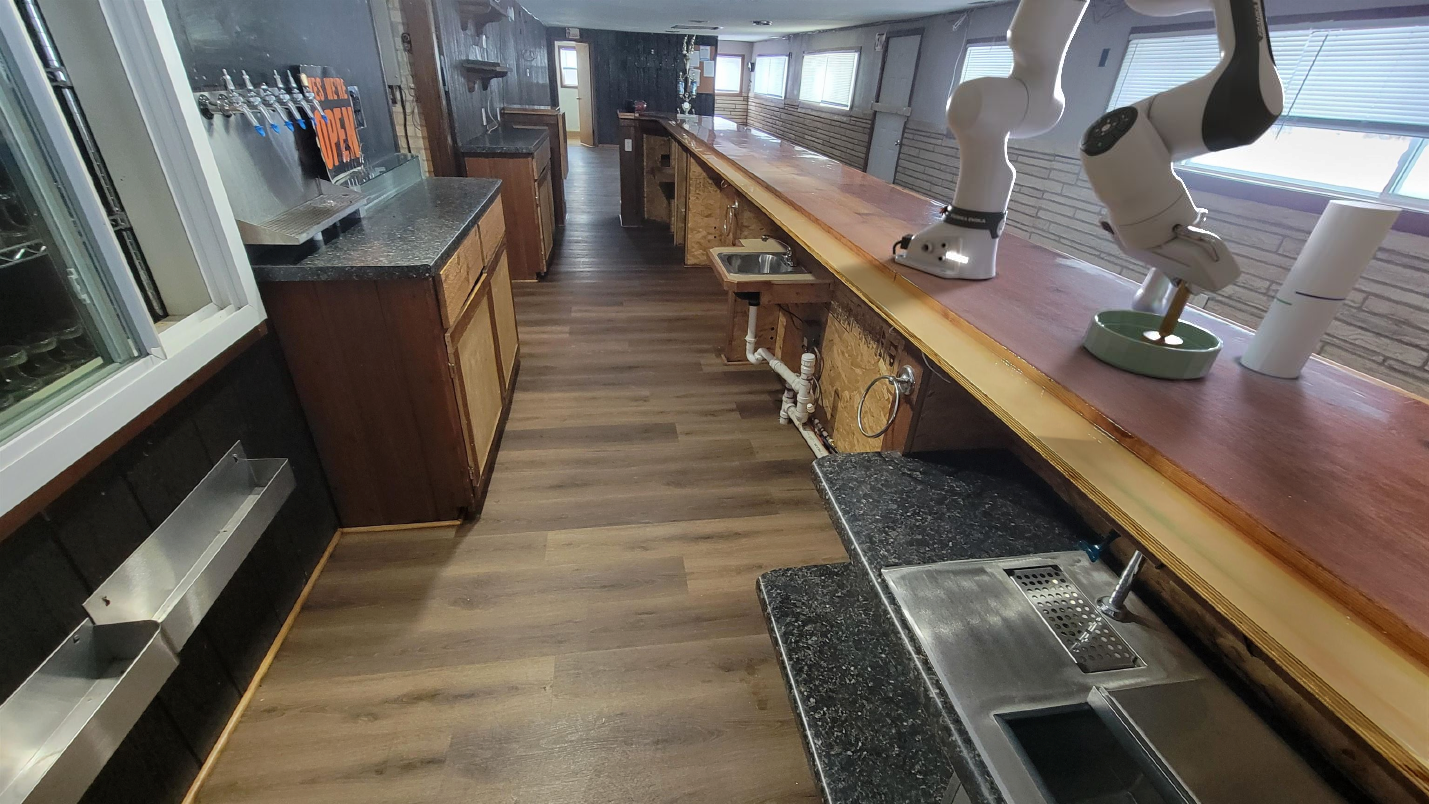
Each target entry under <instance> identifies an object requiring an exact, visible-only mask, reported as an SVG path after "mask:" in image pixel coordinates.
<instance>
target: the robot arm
mask: <svg viewBox="0 0 1429 804" xmlns="http://www.w3.org/2000/svg"><path fill="white" fill-rule="evenodd" d="M1123 1H1124V3H1125V4H1126V5H1127V6H1128V7H1129V8H1130V9H1131V10H1133V11H1134V12H1136V13H1138V14H1141V15H1144V16H1149V17H1175V16H1180V15H1184V14H1189V13H1197V12H1212V13H1213V19H1214V20H1213V21H1214V26H1215V32H1216V39H1217V46H1218V53H1219V62H1218V63H1217V64H1216V65H1215V67H1214V68H1213V69H1211V70H1210V71H1209V72H1208V73H1206V74H1205V75H1202V76H1200V77H1197V78H1195V79H1193V80H1190V81H1187V82H1185V83H1182V84H1180V85H1177V86H1175V87H1173V88H1170V89H1168V90H1164V91H1160V92H1158V93H1155V94H1153V95H1150V96H1148V97H1145V98H1143V99H1140V100H1138V101H1136V102H1133V103H1131V104H1129V105H1126V106H1125V105H1124V106H1121V107H1118V108H1117V107H1116V108H1115V109H1112V110H1110V111H1108V112H1107V113H1104V115H1101V116H1100V117H1099V118H1098V119H1095V121H1094V122H1093V123H1092V124H1090V125H1089V127H1088V128H1087V129H1086V130H1085V131H1084V133H1083V134H1082V136H1081V138H1080V140H1079V142H1078V156H1079V159H1080V163H1081V166H1082V169H1083V172H1084V175H1085V177H1086V179H1087V182H1088V184H1089V186H1090V188H1091V189H1092V192H1093V193H1094V196H1095V197H1096V198H1097V200H1098V201H1099V202H1101V203H1102V204H1103V205H1104V207H1106V210H1107V212H1106V213H1104V214H1103V215H1102V216H1101V217H1100V218H1098V219H1097V222H1098V224H1099V226H1100V228H1101V229H1102V230H1104V231H1105V232H1107V233H1108V235H1109V237H1111V240H1112V241H1113V242H1114V244H1115V245H1116V247H1117V248H1118V249H1119V250H1120V251H1121V253H1122V254H1124V255H1125V256H1127V257H1128V258H1130V259H1133V260H1135V261H1138V262H1141V263H1143V264H1145V265H1147V266H1150V267H1154V268H1157V269H1159V270H1160V271H1161V272H1162V273H1163V274H1164V275H1165V276H1166V277H1167V278H1168V279H1169V280H1170V282H1171V284H1172V286H1174V287H1176V288H1178V287H1179V285H1180V283H1181V280H1182V279H1183V280H1184V281H1187V284H1186V285H1184V287H1185V289H1186V290H1187V292H1188V293H1190V294H1191V295H1192V296H1195V297H1199V296H1200V295H1201V294H1203V293H1204V292H1206V291H1208V292H1211V293H1219V292H1220V291H1222V290H1224V289H1225V288H1227V287H1229V286H1230V285H1232V284H1234V283H1235V282H1236V281H1238V280H1239V279H1240V278H1241V276H1242V269H1241V268H1240V266H1239V264H1238V262H1237V261H1236V259H1235V257H1234V255H1233V254H1232V252H1231V251H1230V249H1229V248H1228V246H1227V244H1226V243H1225V242H1224V241H1223V239H1221V238H1220V237H1219V236H1218V235H1216V234H1214V233H1211V232H1209V231H1205V230H1203V229H1202V230H1203V231H1202V230H1199V229H1196V228H1192V227H1190V225H1191V224H1192V223H1193V222H1194V220H1195V218H1196V216H1197V211H1196V208H1197V207H1196V206H1195V204H1194V202H1193V200H1192V198H1191V196H1190V194H1189V191H1188V190H1187V188H1186V185H1185V184H1184V182H1183V180H1182V178H1180V177H1178V176H1177V175H1176V173H1175V172H1174V169H1173V164H1177V163H1180V162H1183V161H1187V160H1190V159H1193V158H1197V157H1201V156H1205V155H1208V154H1211V153H1219V152H1223V151H1228V150H1232V149H1238V148H1241V147H1246V146H1247V147H1248V146H1250V145H1253V144H1255V142H1257V141H1258V140H1259V139H1260V138H1261V137H1262V136H1264V135H1265V134H1266V132H1268V131H1269V130H1270V128H1272V127H1273V125H1274V124H1275V123H1276V122H1277V121H1278V119H1279V118H1280V117H1281V116H1282V114H1283V112H1284V105H1285V93H1284V87H1283V83H1282V79H1281V78H1280V73H1279V71H1278V67H1277V65H1276V61H1275V57H1274V52H1273V48H1272V42H1271V36H1270V30H1269V25H1268V19H1267V13H1266V6H1265V0H1123ZM1018 3H1019V4H1018V6H1017V8H1016V10H1015V13H1014V15H1013V17H1012V20H1011V22H1010V25H1009V26H1008V29H1007V32H1006V42H1007V45H1008V47H1009V49H1010V50H1011V52H1012V64H1011V68H1010V72H1009V74H1008V76H1007V77H1006V76H981V77H977V78H972V79H969V80H964V81H963V82H961V83H959V84H958V85H957V86H956V87H955V88H954V89H953V91H952V92H951V94H950V96H949V98H948V100H947V103H946V108H945V121H946V124H947V127H948V128H949V130H950V131H951V133H952V134H953V135H954V137H955V140H956V143H957V147H958V151H959V169H958V170H959V171H958V177H957V181H956V186H955V192H954V196H953V200H952V202H951V203H950V204H948V205H946V206H943V207H941V208H939V210H940V211H938V212H939V213H938V214H940V215H941V218H940V220H938V221H936V222H934V223H932V224H931V225H929V226H927V227H925V228H924V229H922V230H919V231H918V232H917V233H915V234H911V233H907V234H905V235H903V236H902V237H901V239H900V240H897V241H896V242H895V243H894V244H893V246H892V255H893V256H895V258H894V262H895V263H898V264H901V265H904V266H907V267H910V268H913V269H915V270H919V271H922V272H925V273H927V274H928V273H929V274H931V275H934V276H937V277H939V278H940V277H941V278H944V279H966V280H986V279H987V280H988V279H991V278H994V277H996V258H997V252H998V251H997V250H998V244H999V239H1000V237H1001V236H1002V234H1003V231H1004V228H1005V225H1006V220H1007V215H1008V210H1007V208H1008V205H1009V201H1010V198H1011V193H1012V190H1013V188H1014V183H1015V179H1016V175H1017V174H1016V173H1017V172H1016V169H1015V167H1014V165H1013V164H1012V163H1010V162H1009V159H1008V155H1007V154H1008V153H1007V144H1008V143H1007V142H1008V139H1009V140H1011V139H1014V140H1015V139H1017V140H1019V139H1020V140H1023V139H1024V140H1025V139H1028V138H1032V137H1037V136H1040V135H1043V134H1046V133H1048V132H1049V131H1051V130H1052V129H1053V128H1054V127H1055V126H1056V125H1057V124H1058V122H1059V120H1060V119H1061V118H1062V115H1063V112H1064V108H1065V96H1064V93H1063V90H1062V87H1061V75H1062V68H1063V65H1064V60H1065V56H1066V52H1067V51H1068V47H1069V45H1070V43H1071V40H1072V38H1073V36H1074V34H1075V33H1076V31H1077V27H1078V26H1079V24H1080V22H1081V19H1082V17H1083V15H1084V13H1085V11H1086V9H1087V7H1088V5H1089V3H1090V0H1020V1H1019V2H1018ZM898 245H899V249H900V250H904V251H902V252H900V253H898V254H897V247H898Z"/></svg>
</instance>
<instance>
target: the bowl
mask: <svg viewBox="0 0 1429 804" xmlns="http://www.w3.org/2000/svg"><path fill="white" fill-rule="evenodd" d="M1164 317H1165V316H1163V315H1159V314H1153V313H1148V312H1142V311H1134V310H1132V309H1122V308H1121V309H1119V308H1118V309H1102V310H1098V311H1096V312H1095V313H1093V314H1092V315H1091V317H1090V320H1089V322H1088V325H1087V327H1086V330H1085V333H1084V335H1083V337H1082V344H1083V346H1084V347H1085V348H1086V349H1087V350H1088V351H1089V352H1090V353H1091V354H1092V355H1093V356H1095V357H1096V358H1098V359H1099V360H1101V361H1103V362H1104V363H1107V364H1109V365H1111V366H1114V367H1117V368H1119V369H1122V370H1125V371H1128V372H1132V373H1135V374H1138V375H1142V376H1147V377H1153V378H1158V379H1159V378H1160V379H1166V380H1190V379H1198V378H1202V377H1205V376H1208V374H1209V373H1210V372H1211V370H1212V368H1213V365H1214V363H1215V361H1216V359H1217V358H1218V356H1219V354H1220V352H1221V350H1222V349H1223V347H1224V342H1223V340H1222V339H1221V338H1220V337H1219V336H1218V335H1216V334H1214V333H1213V332H1211V331H1210V330H1208V329H1205V328H1204V327H1202V326H1198V325H1196V324H1193V323H1190V322H1188V321H1185V320H1181V319H1179V320H1178V322H1177V324H1176V326H1175V329H1174V331H1173V333H1172V335H1173V336H1176V337H1178V338H1180V339H1181V340H1182V341H1183V343H1182V345H1181V347H1180V349H1174V348H1169V347H1163V346H1158V345H1153V344H1149V343H1145V342H1142V341H1140V339H1141V336H1142V334H1143V332H1145V331H1157V332H1158V330H1159V328H1160V326H1161V324H1162V321H1163V319H1164Z"/></svg>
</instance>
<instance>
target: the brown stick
mask: <svg viewBox="0 0 1429 804" xmlns="http://www.w3.org/2000/svg"><path fill="white" fill-rule="evenodd" d="M1186 284H1187V281H1184V280H1183V279H1182V280H1181V283H1180V285H1179V287H1178V289H1177V291H1176V293H1175V296H1174V298H1173V300H1172V302H1171V304H1170V306H1169V308H1168V311H1167V313H1166V315H1165V317H1164V319H1163V321H1162V324H1161V326H1160V328H1159V330H1158V332H1157V331H1145V332H1143V334H1142V336H1141V339H1140V341H1142V342H1145V343H1149V344H1153V345H1158V346H1163V347H1169V348H1174V349H1180V347H1181V345H1182V343H1183V341H1182V340H1181V339H1180V338H1178V337H1176V336H1173V335H1172V333H1173V331H1174V329H1175V326H1176V324H1177V322H1178V320H1180V318H1181V316H1182V315H1183V312H1184V310H1185V307H1186V305H1187V304H1188V301H1189V299H1190V297H1191V295H1192V294H1190V293H1188V292H1187V290H1186V289H1185V287H1184V285H1186Z"/></svg>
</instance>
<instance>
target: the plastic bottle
mask: <svg viewBox="0 0 1429 804" xmlns="http://www.w3.org/2000/svg"><path fill="white" fill-rule="evenodd" d="M1195 208H1196V211H1197V216H1196V218H1195V220H1194V222H1193V223H1192V224H1191V225H1190V227H1192V228H1196V229H1199V230H1202V231H1204V230H1203V228H1202V223H1204V222H1205V220H1206V217H1207V215H1208V210H1207V209H1204V208H1199V207H1195ZM1177 289H1178V288H1176V287H1174V286H1172V284H1171V282H1170V280H1169V279H1168V278H1167V277H1166V276H1165V275H1164V274H1163V273H1162V272H1161V271H1160V270H1159V269H1157V268H1154V267H1152V266H1150V268H1149V272H1147V275H1146V277H1145V279H1144V280H1143V282H1142V284H1141V286H1140V288H1139V289H1138V290H1137V291H1136V292H1135V294H1134V296H1133V298H1132V299H1131V304H1130V308H1131V310H1134V311H1142V312H1148V313H1153V314H1159V315H1163V316H1165V315H1166V313H1167V311H1168V308H1169V306H1170V304H1171V302H1172V300H1173V298H1174V296H1175V293H1176V291H1177Z"/></svg>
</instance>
